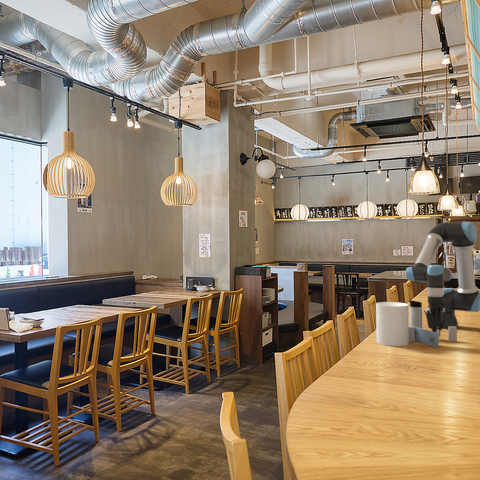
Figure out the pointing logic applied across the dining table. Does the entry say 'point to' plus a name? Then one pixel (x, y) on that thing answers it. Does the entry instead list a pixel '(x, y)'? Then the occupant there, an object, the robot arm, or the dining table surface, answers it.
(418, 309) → the travel mug
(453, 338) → the wall stub
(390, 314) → the canister
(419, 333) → the door
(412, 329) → the door post
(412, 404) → the dining table surface
